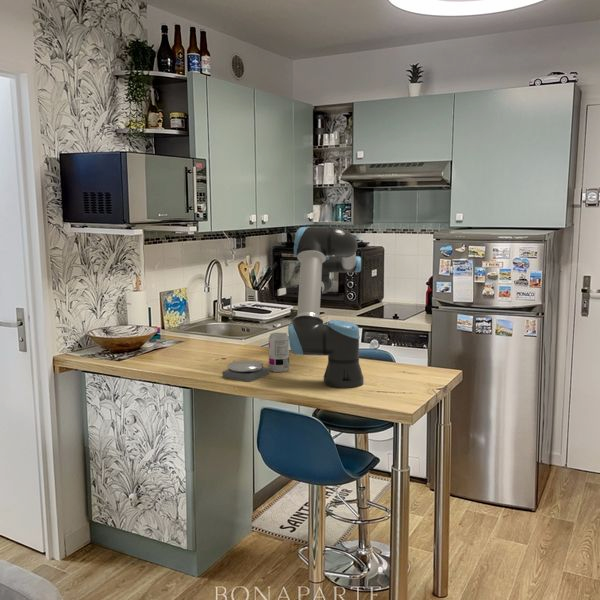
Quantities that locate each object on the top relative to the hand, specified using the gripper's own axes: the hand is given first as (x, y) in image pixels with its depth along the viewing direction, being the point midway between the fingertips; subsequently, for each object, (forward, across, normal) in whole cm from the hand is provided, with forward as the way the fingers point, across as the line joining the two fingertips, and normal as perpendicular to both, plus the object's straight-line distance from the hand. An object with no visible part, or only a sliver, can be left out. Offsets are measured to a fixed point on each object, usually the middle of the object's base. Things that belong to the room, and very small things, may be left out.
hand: (292, 293), depth 270 cm
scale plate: (+28, +7, -29) cm, 41 cm away
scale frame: (+28, +7, -30) cm, 42 cm away
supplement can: (+14, 0, -30) cm, 33 cm away
